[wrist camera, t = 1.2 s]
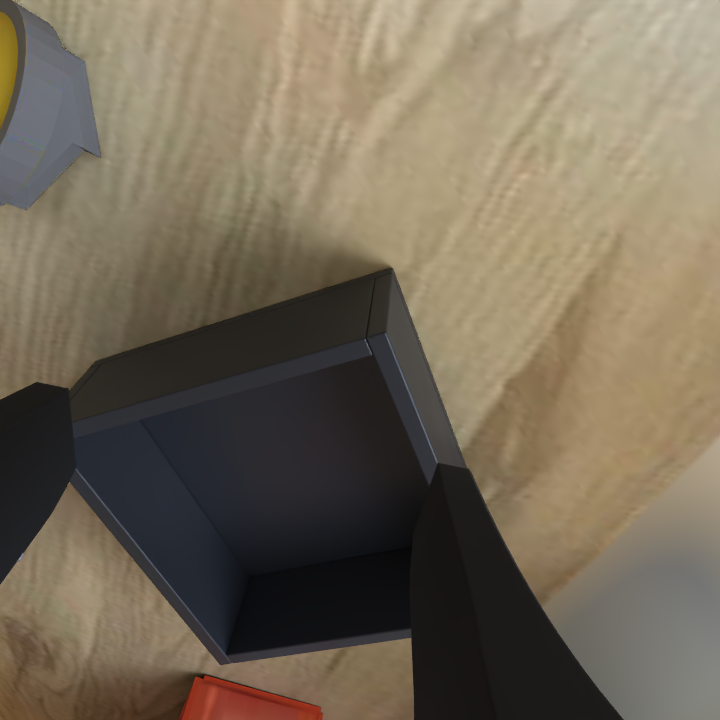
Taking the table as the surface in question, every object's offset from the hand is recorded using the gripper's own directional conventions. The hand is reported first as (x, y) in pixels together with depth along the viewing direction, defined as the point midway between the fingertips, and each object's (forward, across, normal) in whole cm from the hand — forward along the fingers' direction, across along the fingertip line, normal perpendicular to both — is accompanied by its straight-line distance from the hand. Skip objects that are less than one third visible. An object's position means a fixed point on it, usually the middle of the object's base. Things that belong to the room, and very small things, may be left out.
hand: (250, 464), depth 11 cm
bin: (+10, -1, +8) cm, 13 cm away
